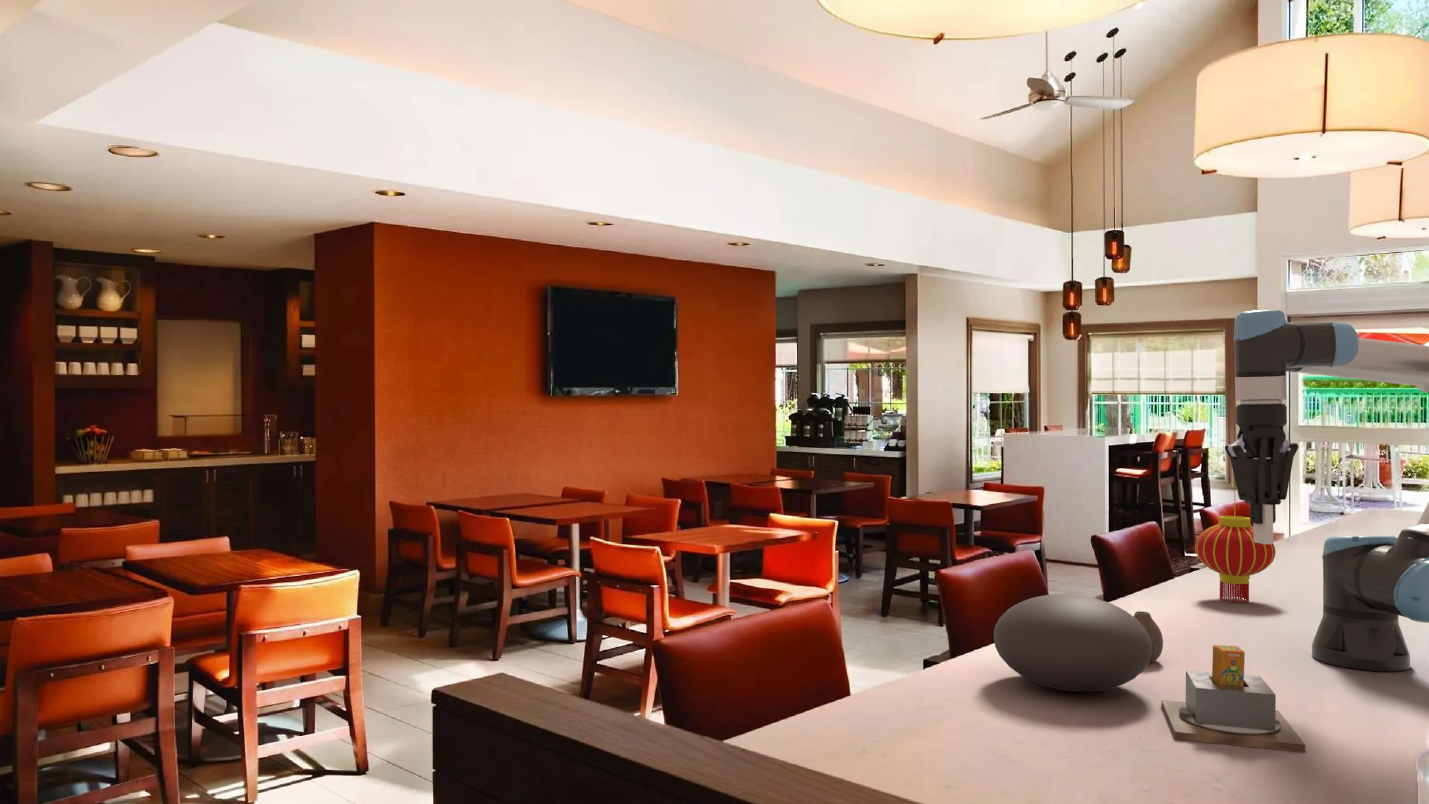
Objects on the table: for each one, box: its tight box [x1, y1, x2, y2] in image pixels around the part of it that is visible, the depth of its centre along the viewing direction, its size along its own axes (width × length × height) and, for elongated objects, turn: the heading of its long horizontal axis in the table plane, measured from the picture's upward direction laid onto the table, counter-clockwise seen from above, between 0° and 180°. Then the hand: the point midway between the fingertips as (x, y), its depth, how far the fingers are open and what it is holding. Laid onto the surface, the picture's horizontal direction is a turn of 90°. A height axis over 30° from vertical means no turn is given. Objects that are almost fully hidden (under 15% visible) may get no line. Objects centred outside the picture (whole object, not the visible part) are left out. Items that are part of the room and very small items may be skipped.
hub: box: [1179, 669, 1280, 736], centre depth 144 cm, size 13×13×6 cm
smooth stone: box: [993, 593, 1152, 693], centre depth 165 cm, size 25×25×15 cm
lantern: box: [1194, 492, 1277, 603], centre depth 242 cm, size 17×17×30 cm
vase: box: [1132, 610, 1164, 664], centre depth 183 cm, size 7×7×9 cm
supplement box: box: [1211, 644, 1246, 687], centre depth 144 cm, size 3×3×10 cm
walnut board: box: [1160, 699, 1307, 753], centre depth 144 cm, size 16×16×1 cm
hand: (1263, 542), depth 168 cm, fingers closed
